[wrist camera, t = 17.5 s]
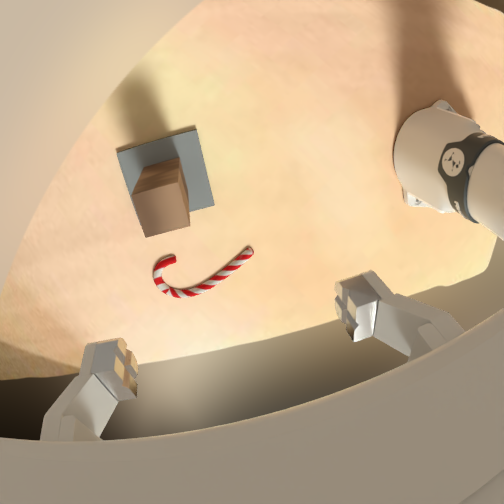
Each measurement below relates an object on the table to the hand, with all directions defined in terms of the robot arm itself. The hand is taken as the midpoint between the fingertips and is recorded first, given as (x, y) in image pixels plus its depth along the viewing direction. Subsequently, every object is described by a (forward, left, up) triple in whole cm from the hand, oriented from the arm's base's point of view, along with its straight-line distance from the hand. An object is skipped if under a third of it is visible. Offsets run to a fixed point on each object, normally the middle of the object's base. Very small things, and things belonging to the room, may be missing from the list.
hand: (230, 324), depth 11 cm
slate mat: (+3, +4, -29) cm, 30 cm away
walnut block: (+3, +4, -29) cm, 29 cm away
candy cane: (-4, +16, -30) cm, 34 cm away
